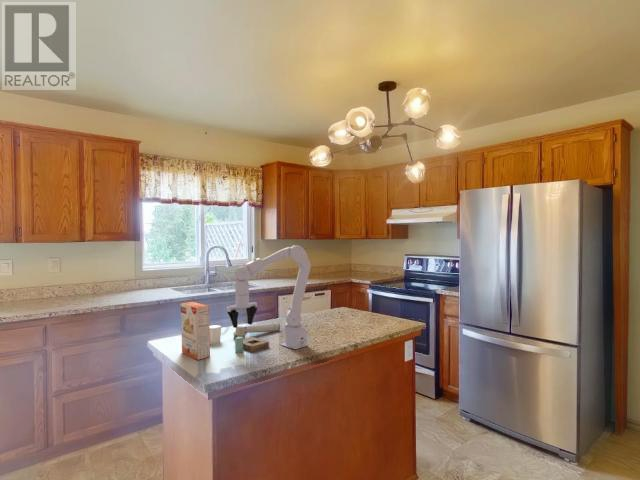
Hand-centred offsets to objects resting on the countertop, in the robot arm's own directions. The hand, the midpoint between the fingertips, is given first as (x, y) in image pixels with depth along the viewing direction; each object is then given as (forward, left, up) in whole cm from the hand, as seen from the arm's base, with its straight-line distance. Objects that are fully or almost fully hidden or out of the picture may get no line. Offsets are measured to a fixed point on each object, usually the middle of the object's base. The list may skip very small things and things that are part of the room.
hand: (242, 325), depth 160 cm
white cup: (+18, +3, -10) cm, 21 cm away
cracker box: (+7, +18, -10) cm, 22 cm away
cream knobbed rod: (+12, -17, -10) cm, 23 cm away
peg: (-4, +5, -10) cm, 11 cm away
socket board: (-2, -3, -10) cm, 10 cm away
